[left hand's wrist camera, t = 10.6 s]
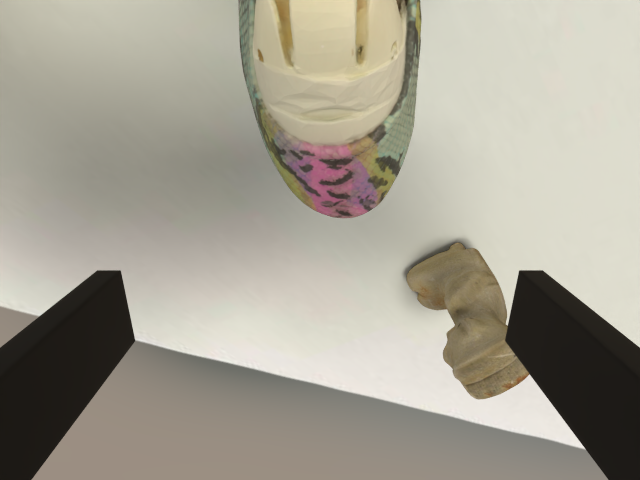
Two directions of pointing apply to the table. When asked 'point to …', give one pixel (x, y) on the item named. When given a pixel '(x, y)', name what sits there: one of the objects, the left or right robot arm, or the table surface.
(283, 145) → the ballet flat
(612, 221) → the table surface
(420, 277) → the sculpture
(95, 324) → the left robot arm
